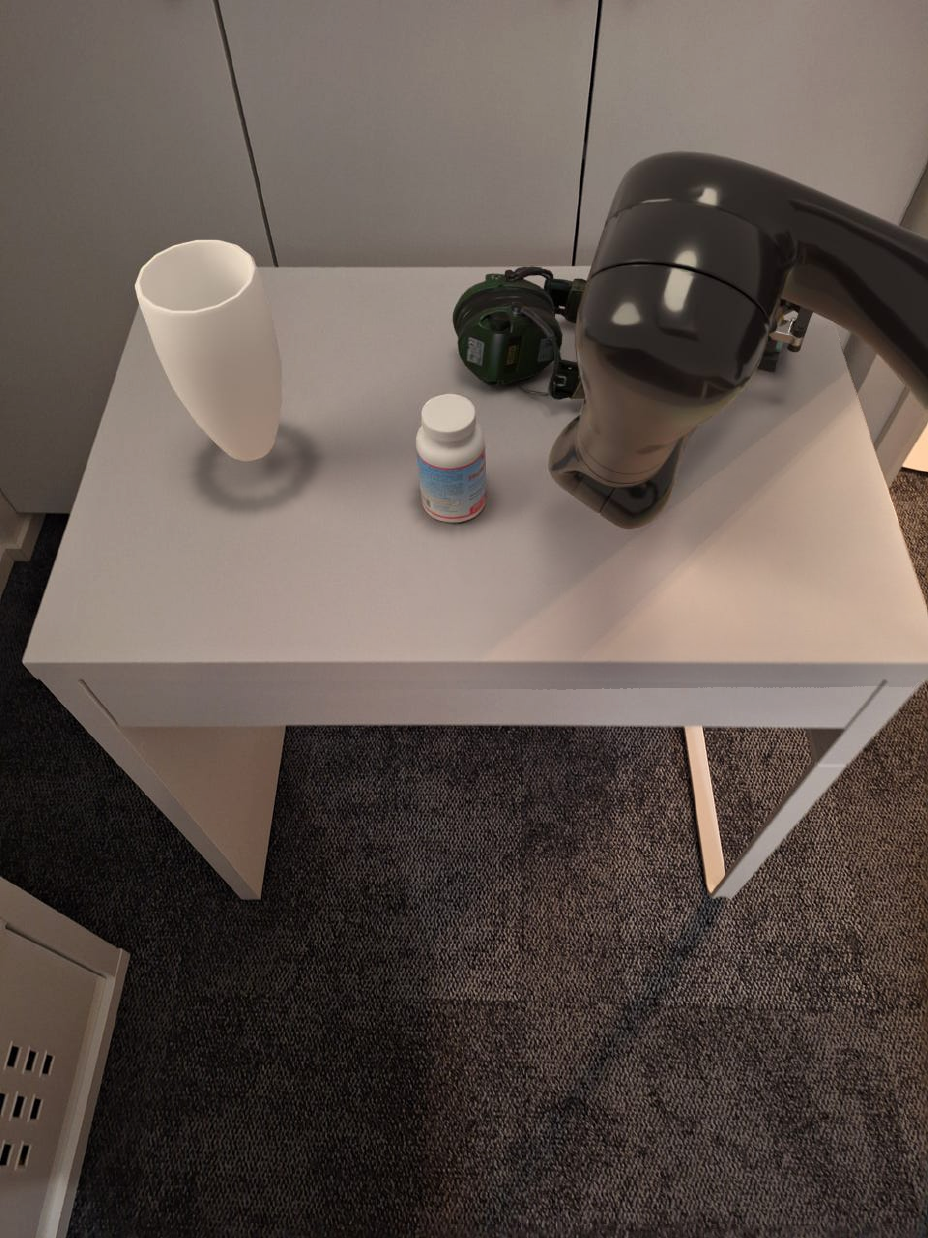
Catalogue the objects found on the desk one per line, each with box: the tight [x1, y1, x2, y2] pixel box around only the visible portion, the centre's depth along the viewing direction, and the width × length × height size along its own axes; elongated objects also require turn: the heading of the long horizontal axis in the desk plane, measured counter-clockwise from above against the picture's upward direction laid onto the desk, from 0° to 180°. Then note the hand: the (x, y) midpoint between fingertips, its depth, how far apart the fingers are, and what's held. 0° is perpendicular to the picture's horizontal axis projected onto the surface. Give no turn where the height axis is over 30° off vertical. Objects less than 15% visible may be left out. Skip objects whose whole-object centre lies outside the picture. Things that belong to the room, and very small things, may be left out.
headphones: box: [452, 265, 587, 401], centre depth 93 cm, size 13×13×20 cm
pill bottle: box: [415, 393, 487, 523], centre depth 82 cm, size 6×6×11 cm
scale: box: [756, 316, 789, 373], centre depth 96 cm, size 7×7×2 cm
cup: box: [134, 239, 283, 462], centre depth 81 cm, size 10×10×22 cm
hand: (777, 261), depth 91 cm, fingers closed on supplement bottle, 5 cm apart
